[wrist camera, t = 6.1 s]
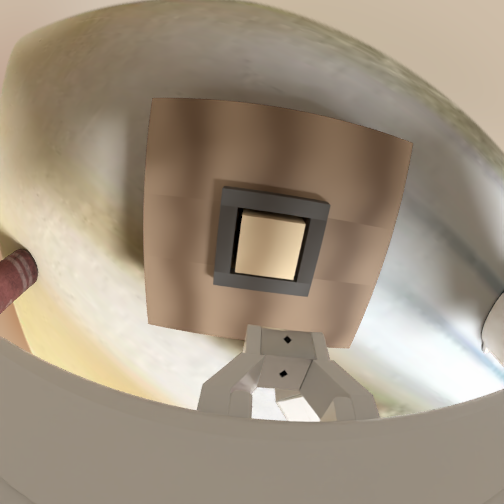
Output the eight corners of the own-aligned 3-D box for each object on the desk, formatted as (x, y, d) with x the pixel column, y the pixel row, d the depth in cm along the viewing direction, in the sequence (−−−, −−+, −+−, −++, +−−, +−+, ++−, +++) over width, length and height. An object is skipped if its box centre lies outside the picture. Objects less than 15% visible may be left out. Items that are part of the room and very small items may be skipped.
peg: (291, 197, 27) (305, 224, 19) (283, 238, 29) (293, 279, 20) (247, 191, 27) (242, 215, 18) (242, 232, 28) (234, 272, 20)
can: (43, 265, 32) (-15, 315, 19) (34, 288, 33) (-16, 337, 21) (21, 239, 30) (-40, 280, 17) (13, 263, 32) (-39, 305, 19)
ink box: (268, 326, 34) (270, 401, 23) (306, 315, 33) (322, 388, 22) (288, 368, 37) (294, 436, 26) (321, 358, 36) (336, 426, 25)
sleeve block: (374, 140, 24) (419, 143, 16) (332, 304, 32) (351, 354, 24) (181, 108, 24) (147, 96, 16) (170, 283, 32) (145, 330, 23)
